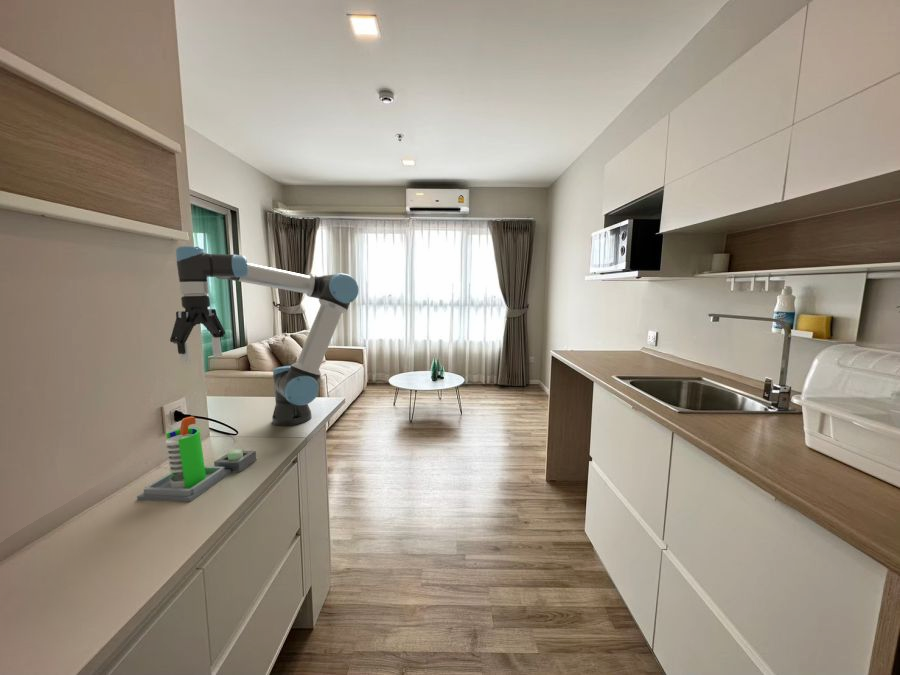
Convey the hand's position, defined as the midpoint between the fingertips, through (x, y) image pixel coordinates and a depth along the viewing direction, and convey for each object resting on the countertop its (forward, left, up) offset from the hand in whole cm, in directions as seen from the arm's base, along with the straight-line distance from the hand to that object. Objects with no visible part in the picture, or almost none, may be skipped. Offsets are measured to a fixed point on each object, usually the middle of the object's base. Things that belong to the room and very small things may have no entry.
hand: (202, 359), depth 120 cm
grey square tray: (+22, +10, -32) cm, 40 cm away
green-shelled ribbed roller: (+21, +10, -31) cm, 39 cm away
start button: (+10, +16, -31) cm, 37 cm away
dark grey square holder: (+10, +16, -32) cm, 37 cm away
